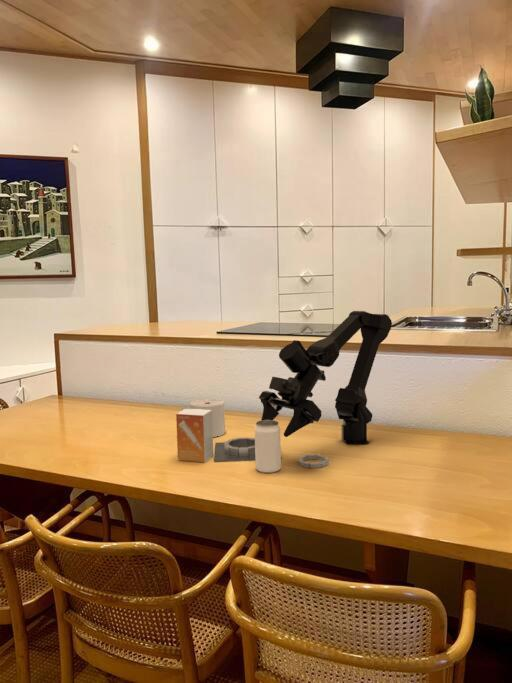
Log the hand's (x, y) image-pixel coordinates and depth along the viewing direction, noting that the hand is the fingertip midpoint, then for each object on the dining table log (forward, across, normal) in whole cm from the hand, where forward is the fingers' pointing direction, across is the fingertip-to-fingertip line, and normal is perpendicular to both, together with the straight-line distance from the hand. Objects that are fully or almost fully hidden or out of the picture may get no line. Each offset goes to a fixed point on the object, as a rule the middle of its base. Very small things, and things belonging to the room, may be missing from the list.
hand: (272, 432), depth 134 cm
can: (+8, 0, +6) cm, 10 cm away
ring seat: (+5, -16, +8) cm, 18 cm away
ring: (0, +5, +13) cm, 14 cm away
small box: (+14, -20, -1) cm, 25 cm away
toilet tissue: (+3, -37, +10) cm, 39 cm away
